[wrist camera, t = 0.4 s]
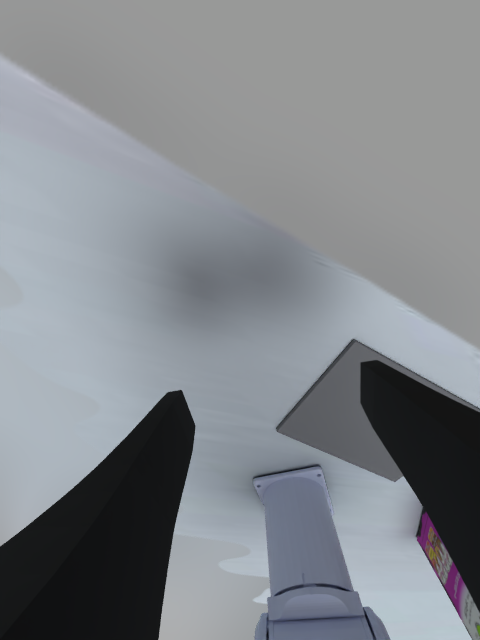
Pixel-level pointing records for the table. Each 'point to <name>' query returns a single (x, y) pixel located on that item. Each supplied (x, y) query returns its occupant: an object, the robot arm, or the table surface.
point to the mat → (347, 414)
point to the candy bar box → (449, 576)
